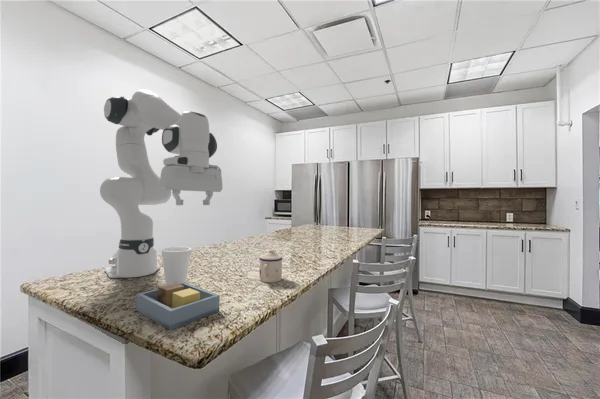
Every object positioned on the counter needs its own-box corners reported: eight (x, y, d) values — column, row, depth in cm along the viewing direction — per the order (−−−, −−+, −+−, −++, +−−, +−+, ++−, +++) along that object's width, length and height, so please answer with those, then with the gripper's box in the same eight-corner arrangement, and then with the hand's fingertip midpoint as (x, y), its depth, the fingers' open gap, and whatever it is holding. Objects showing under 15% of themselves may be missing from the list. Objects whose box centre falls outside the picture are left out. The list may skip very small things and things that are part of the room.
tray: (136, 310, 75) (136, 294, 75) (183, 296, 86) (184, 282, 86) (170, 330, 64) (170, 311, 64) (219, 311, 75) (219, 295, 75)
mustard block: (172, 311, 72) (172, 292, 72) (189, 305, 76) (189, 288, 76) (182, 316, 69) (182, 297, 69) (199, 310, 73) (200, 292, 73)
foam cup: (179, 291, 91) (179, 252, 91) (155, 288, 93) (155, 250, 93) (195, 282, 100) (196, 247, 100) (173, 280, 102) (174, 246, 102)
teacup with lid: (263, 275, 112) (264, 247, 112) (284, 277, 110) (285, 248, 110) (252, 284, 100) (252, 252, 100) (275, 286, 98) (276, 254, 98)
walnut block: (157, 304, 77) (157, 286, 77) (174, 299, 81) (174, 282, 81) (166, 308, 74) (166, 290, 74) (183, 303, 78) (184, 285, 78)
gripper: (215, 166, 97) (214, 204, 97) (157, 158, 81) (156, 205, 81) (226, 165, 94) (225, 205, 94) (168, 157, 77) (167, 205, 77)
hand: (193, 205), depth 87 cm, fingers open, 8 cm apart
